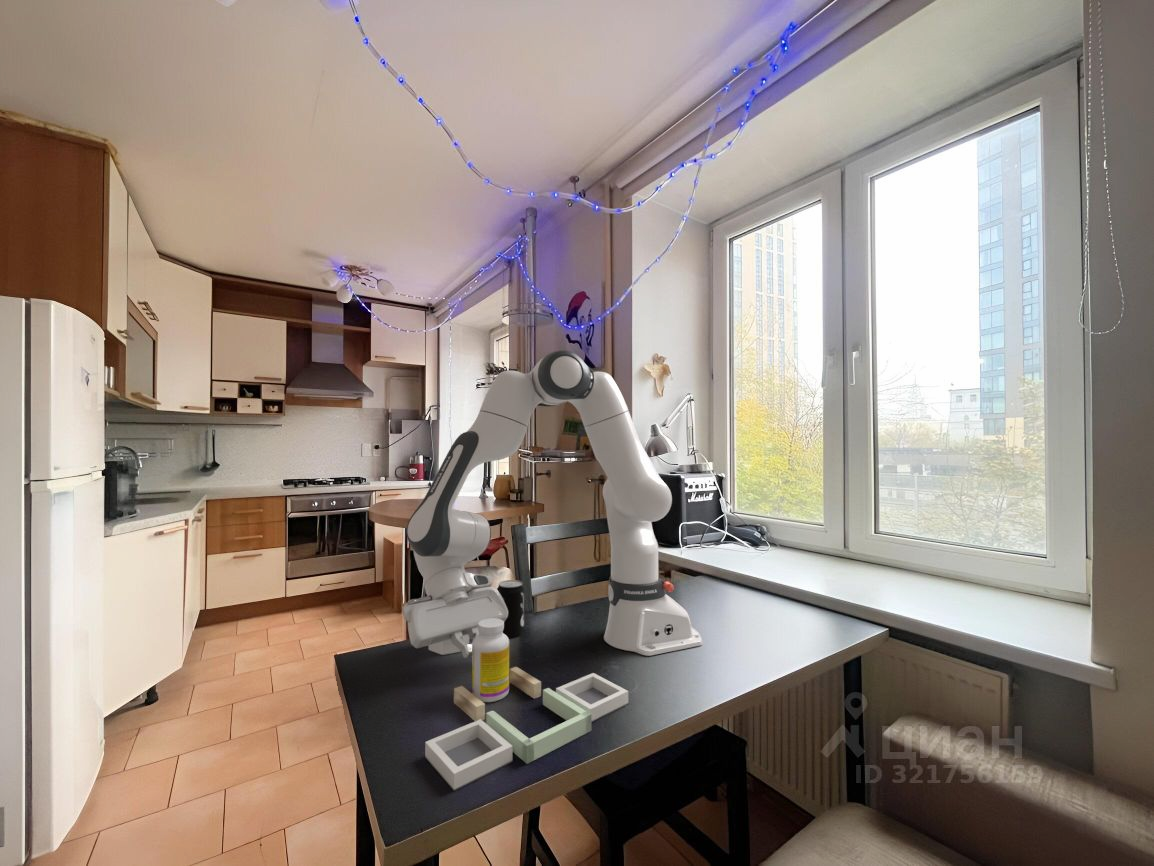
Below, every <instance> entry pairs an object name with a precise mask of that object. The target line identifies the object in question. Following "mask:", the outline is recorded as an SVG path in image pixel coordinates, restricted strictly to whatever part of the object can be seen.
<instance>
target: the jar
mask: <svg viewBox="0 0 1154 866" xmlns="http://www.w3.org/2000/svg"><path fill="white" fill-rule="evenodd" d="M461 639H462V640H463V641H464V642H465V643H466V644H467V645H468V644H470V638H469V635H464V636H462V638H461ZM428 650H429V651H430V652H433V653H436V654H438V655H440V656H445V655H451V654H457V653H462V651H461V650H459V649H458V648H457V647H456V646H455V645H454V644H453V643H452V640H451V639H450V640H446V641H442V642H439V643H435V644H432V645H428Z"/></svg>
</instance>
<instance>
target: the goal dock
mask: <svg viewBox="0 0 1154 866" xmlns="http://www.w3.org/2000/svg"><path fill="white" fill-rule="evenodd" d="M542 705H543V706H544V707H545V708H547V709H548V710H550V711H551V712H552V713H554V714H556V715H558V716H559V717H561V718H562V719H563V720H565V721H564V722H562V723H559V724H556V725H555V726H553V727H551V728H549V729H546V730H545V731H542V732H541V733H539V734H536V735H534V736H532V737H530V738H529V737H528V736H526V735H525V734H523V733H522V732H521V730H518V729H517V728H516V727H515V726H514V725H512V724H511V723H510V722H508V721H507V719H505V718H503V717H502V716H501V715H500V714H498V713H497V712H496V711H494V710H490V711H488V712H485V719H486V721H485V723H486V724H487V725H488V726H489V727H491V728H492V729H493V730H494V731H495V732H497V733H498V734H499V735H500V736H501V737H502V738H504V739H505V740H506V741H507V742H508V743H510V744H511V745H512V746H513V753H514V755H516V756H517V757H518V758H519V759H521V760H522V761H523V762H524V763H525V764H527V765H528V764H530V763H531V762H533V761H535V760H536V761H537V760H538V759H539V758H542V757H543V756H545V755H547V754H549V753H552V751H555V750H557V749H558V748H560V747H562V746H564V745H566V744H568V743H570V742H572V741H574V740H576V739H578V738H580V737H582V736H584V735H586V734H587V733H590V732H592V728H593V727H592V723H593V722H592V714H590V713H588V712H587V711H585V710H583V709H582V708H580V707H579V706H577V705H575V704H574V703H572V702H571V701H569V700H567V699H566V698H564V697H562V696H561V695H559V694H558V693H556V691H555V690H552V689H551V688H550V687H547V688H544V689H542Z"/></svg>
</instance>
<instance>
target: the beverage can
mask: <svg viewBox="0 0 1154 866" xmlns="http://www.w3.org/2000/svg"><path fill="white" fill-rule="evenodd" d="M496 589H497V590H498V591H499V593H500V595H501V596H502V598H503V600H504V602H505V604H506V607H507V609H508V617H507V619H506V620H505V622H504V629H503V633H504V634H505V635H506V636H507V637H508V639H509V638H510V639H512V638H517V637H519V636H521V635H522V633H523V632H524V631H525V630H524V629H525V587H524V585H523V582H522V581H521V580H517V579H508V580H507V579H506V580H502V581H500V582H498V587H497V588H496Z"/></svg>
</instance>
